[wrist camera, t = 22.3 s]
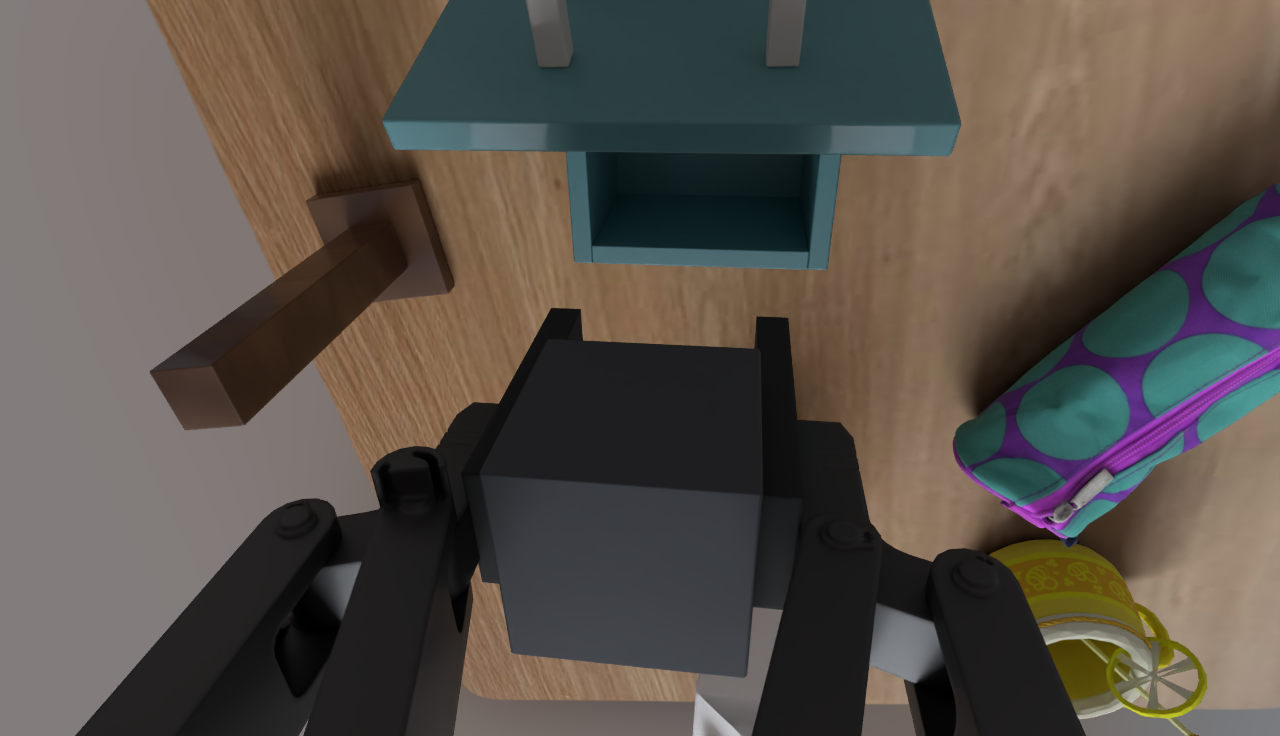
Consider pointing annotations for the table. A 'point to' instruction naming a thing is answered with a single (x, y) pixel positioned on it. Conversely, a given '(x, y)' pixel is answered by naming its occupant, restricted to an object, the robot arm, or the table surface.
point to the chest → (703, 208)
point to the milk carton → (737, 685)
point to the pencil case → (1138, 380)
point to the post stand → (308, 304)
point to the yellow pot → (1098, 631)
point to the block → (631, 505)
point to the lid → (680, 78)
